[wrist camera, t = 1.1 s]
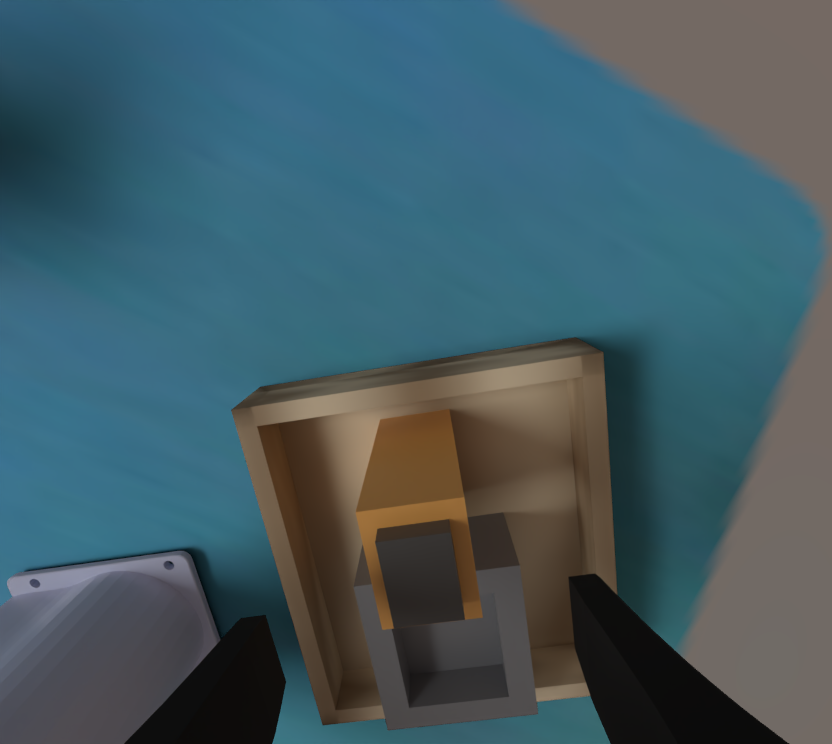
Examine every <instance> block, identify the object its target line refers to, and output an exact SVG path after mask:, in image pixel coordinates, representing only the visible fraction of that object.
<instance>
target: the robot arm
mask: <svg viewBox="0 0 832 744" xmlns="http://www.w3.org/2000/svg"><path fill="white" fill-rule="evenodd" d="M169 561H171V562H172V563H173V564H171V563H169ZM568 579H569V590H570V601H571V612H572V623H573V634H574V645H575V650H576V653H577V656H578V660H579V663H580V666H581V669H582V672H583V675H584V678H585V681H586V684H587V687H588V690H589V693H590V696H591V699H592V701H593V704H594V706H595V708H596V711H597V713H598V715H599V718H600V720H601V722H602V725H603V727H604V729H605V732H606V734H607V736H608V738H609V741H610V743H611V744H789V743H787V742H786V741H784V740H783V739H782V738H781V737H779V736H778V735H776V734H775V733H774V732H773V731H771V730H770V729H769V728H768V727H766V726H765V725H764V724H762V723H761V722H760V721H758V720H757V719H756V718H754V717H753V716H752V715H750V714H749V713H748V712H747V711H745V710H744V709H743V708H742V707H740V706H739V705H738V704H737V703H736V702H734V701H733V700H732V699H731V698H729V697H728V696H727V695H726V694H724V693H723V692H722V691H721V690H720V689H719V688H717V687H716V686H715V685H714V684H713V683H711V682H710V681H709V680H708V679H707V678H706V677H704V676H703V675H702V674H701V673H700V672H698V671H697V670H696V669H695V668H694V667H693V666H691V665H690V664H689V663H688V662H687V661H686V660H685V659H684V658H683V657H681V656H680V655H679V654H678V653H677V652H676V651H675V650H674V649H673V648H672V647H671V646H669V645H668V644H667V643H666V642H665V641H664V640H663V639H662V638H661V637H660V636H659V635H657V634H656V633H655V632H654V631H653V630H652V629H651V628H650V627H649V626H648V625H647V624H646V623H645V622H644V621H643V620H642V619H641V618H640V617H639V616H638V615H637V614H636V613H635V612H634V611H633V610H632V609H631V608H630V607H629V606H628V605H627V604H626V603H625V602H624V601H623V600H622V599H621V598H620V597H619V596H618V595H617V594H616V593H615V592H614V591H613V590H612V589H611V588H610V587H609V586H608V585H607V584H606V583H605V582H604V581H603V580H602V579H601V577H599V576H598V575H597V574H595V573H594V574H586V575H578V576H570V577H568ZM7 586H8V588H9V591H10V593H11V595H12V598H10V599H9V600H8V601H7V602H6V603H4V604H3V605H2V606H1V607H0V744H272V742H273V739H274V736H275V732H276V727H277V723H278V718H279V714H280V709H281V704H282V699H283V694H284V689H285V684H286V680H285V677H284V674H283V671H282V667H281V664H280V661H279V658H278V654H277V651H276V648H275V645H274V641H273V638H272V635H271V632H270V628H269V625H268V622H267V619H266V615H262V616H254V617H246V618H241V619H240V620H239V621H238V622H237V623H236V624H235V625H234V626H233V627H232V628H231V629H230V630H229V631H228V632H227V634H226V635H225V636H224V637H223V638H222V639H221V640H220V637H219V634H218V631H217V629H216V626H215V623H214V620H213V617H212V614H211V611H210V608H209V605H208V603H207V600H206V597H205V594H204V591H203V588H202V585H201V582H200V579H199V577H198V574H197V571H196V568H195V565H194V562H193V559H192V557H191V555H190V554H189V553H187V552H185V551H174V552H167V553H159V554H152V555H145V556H137V557H130V558H123V559H115V560H108V561H101V562H93V563H86V564H79V565H71V566H64V567H57V568H49V569H42V570H35V571H27V572H20V573H16V574H15V575H13V576H12V577H11V578H9V580H8V581H7Z"/></svg>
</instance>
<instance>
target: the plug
mask: <svg viewBox="0 0 832 744" xmlns="http://www.w3.org/2000/svg"><path fill="white" fill-rule="evenodd" d="M355 513H356V517H357V521H358V526H359V530H360V534H361V539H362V543H363V548H364V552H365V556H366V561H367V565H368V570H369V574H370V578H371V583H372V587H373V592H374V596H375V600H376V605H377V609H378V613H379V618H380V622H381V627H382V630H386V629H394V628H402V627H410V626H419V625H427V624H435V623H443V622H451V621H460V620H468V619H476V618H483V615H482V609H481V602H480V596H479V589H478V583H477V576H476V570H475V563H474V557H473V550H472V544H471V537H470V531H469V524H468V518H467V511H466V505H465V498H464V492H463V486H462V480H461V475H460V469H459V463H458V457H457V451H456V445H455V439H454V434H453V428H452V422H451V416H450V410H449V409H446V410H439V411H433V412H426V413H420V414H413V415H406V416H400V417H393V418H386V419H380V422H379V426H378V429H377V433H376V437H375V441H374V444H373V448H372V452H371V456H370V459H369V463H368V467H367V471H366V474H365V478H364V482H363V486H362V489H361V493H360V497H359V501H358V504H357V508H356V512H355Z"/></svg>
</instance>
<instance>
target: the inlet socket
mask: <svg viewBox="0 0 832 744" xmlns="http://www.w3.org/2000/svg"><path fill="white" fill-rule="evenodd" d="M467 518H468V524H469V531H470V537H471V544H472V550H473V557H474V563H475V570H476V576H477V583H478V589H479V596H480V602H481V609H482V615H483V618H476V619H468V620H460V621H451V622H443V623H435V624H427V625H419V626H410V627H402V628H394V629H386V630H382V627H381V622H380V618H379V613H378V609H377V605H376V600H375V596H374V592H373V587H372V583H371V578H370V574H369V570H368V565H367V561H366V556H365V552H364V548H363V544H362V549H361V553H360V558H359V563H358V567H357V572H356V577H355V582H354V586H353V587H354V591H355V595H356V599H357V604H358V608H359V612H360V616H361V620H362V624H363V628H364V633H365V637H366V641H367V645H368V649H369V653H370V657H371V662H372V666H373V670H374V674H375V678H376V682H377V687H378V691H379V695H380V699H381V703H382V707H383V711H384V716H385V720H386V724H387V728H388V730H396V729H405V728H414V727H423V726H432V725H442V724H451V723H460V722H469V721H479V720H488V719H497V718H506V717H516V716H525V715H534V714H538V709H537V700H536V692H535V684H534V676H533V668H532V660H531V652H530V644H529V635H528V627H527V619H526V611H525V603H524V595H523V587H522V579H521V571H520V564H519V561H518V558H517V555H516V551H515V548H514V545H513V542H512V539H511V535H510V532H509V529H508V526H507V523H506V519H505V516H504V513H503V512H501V513H494V514H487V515H479V516H472V517H467Z"/></svg>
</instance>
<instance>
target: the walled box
mask: <svg viewBox="0 0 832 744" xmlns="http://www.w3.org/2000/svg"><path fill="white" fill-rule="evenodd" d="M446 409H449V410H450V416H451V422H452V428H453V434H454V439H455V445H456V451H457V457H458V463H459V469H460V475H461V480H462V486H463V492H464V498H465V505H466V511H467V517H472V516H479V515H487V514H494V513H501V512H503V513H504V516H505V519H506V523H507V526H508V529H509V532H510V535H511V539H512V542H513V545H514V548H515V551H516V555H517V558H518V561H519V564H520V571H521V579H522V587H523V595H524V603H525V611H526V619H527V627H528V635H529V644H530V652H531V660H532V668H533V676H534V684H535V692H536V700H537V702H538V701H548V700H557V699H566V698H575V697H584V696H590V693H589V690H588V687H587V684H586V681H585V678H584V675H583V672H582V669H581V666H580V663H579V660H578V656H577V653H576V650H575V645H574V634H573V623H572V612H571V601H570V590H569V579H568V577H570V576H578V575H586V574H594V573H595V574H597V575H598V576H599V577H601V579H602V580H603V581H604V582H605V583H606V584H607V585H608V586H609V587H610V588H611V589H612V590H613V591H614V592H615V593H616V594H617V582H616V564H615V547H614V529H613V512H612V494H611V477H610V460H609V442H608V425H607V407H606V390H605V372H604V355H603V352H602V351H600V350H598V349H596V348H594V347H592V346H591V345H589V344H587V343H585V342H583V341H581V340H579V339H577V338H568V339H562V340H556V341H549V342H543V343H537V344H530V345H524V346H518V347H511V348H505V349H499V350H492V351H486V352H480V353H473V354H467V355H461V356H454V357H448V358H441V359H435V360H429V361H422V362H416V363H410V364H403V365H397V366H391V367H384V368H378V369H372V370H365V371H359V372H353V373H346V374H340V375H334V376H327V377H321V378H315V379H308V380H302V381H296V382H289V383H283V384H276V385H270V386H264V387H260V388H258V389H257V390H256V391H254V392H253V393H252V394H251V395H249V396H248V397H247V398H246V399H244V400H243V401H242V402H241V403H239V404H238V405H237V406H236V407H234V408H233V409H232V410H231V411H232V414H233V418H234V421H235V425H236V428H237V431H238V435H239V438H240V442H241V445H242V449H243V452H244V456H245V459H246V462H247V466H248V469H249V473H250V476H251V480H252V483H253V487H254V490H255V493H256V497H257V500H258V504H259V507H260V511H261V514H262V518H263V521H264V524H265V528H266V531H267V535H268V538H269V542H270V545H271V549H272V552H273V555H274V559H275V562H276V566H277V569H278V573H279V576H280V579H281V583H282V586H283V590H284V593H285V597H286V600H287V604H288V607H289V610H290V614H291V617H292V621H293V624H294V628H295V631H296V635H297V638H298V641H299V645H300V648H301V652H302V655H303V659H304V662H305V666H306V669H307V672H308V676H309V679H310V683H311V686H312V690H313V693H314V697H315V700H316V703H317V707H318V710H319V714H320V717H321V721H322V724H323V725H329V724H338V723H347V722H356V721H365V720H374V719H384V718H385V716H384V711H383V707H382V703H381V699H380V695H379V691H378V687H377V682H376V678H375V674H374V670H373V666H372V662H371V657H370V653H369V649H368V645H367V641H366V637H365V633H364V628H363V624H362V620H361V616H360V612H359V608H358V604H357V599H356V595H355V591H354V587H353V586H354V582H355V577H356V572H357V567H358V563H359V558H360V553H361V549H362V544H363V543H362V539H361V534H360V530H359V526H358V521H357V517H356V513H355V512H356V508H357V504H358V501H359V497H360V493H361V489H362V486H363V482H364V478H365V474H366V471H367V467H368V463H369V459H370V456H371V452H372V448H373V444H374V441H375V437H376V433H377V429H378V426H379V422H380V419H386V418H393V417H400V416H406V415H413V414H420V413H426V412H433V411H439V410H446Z"/></svg>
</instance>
